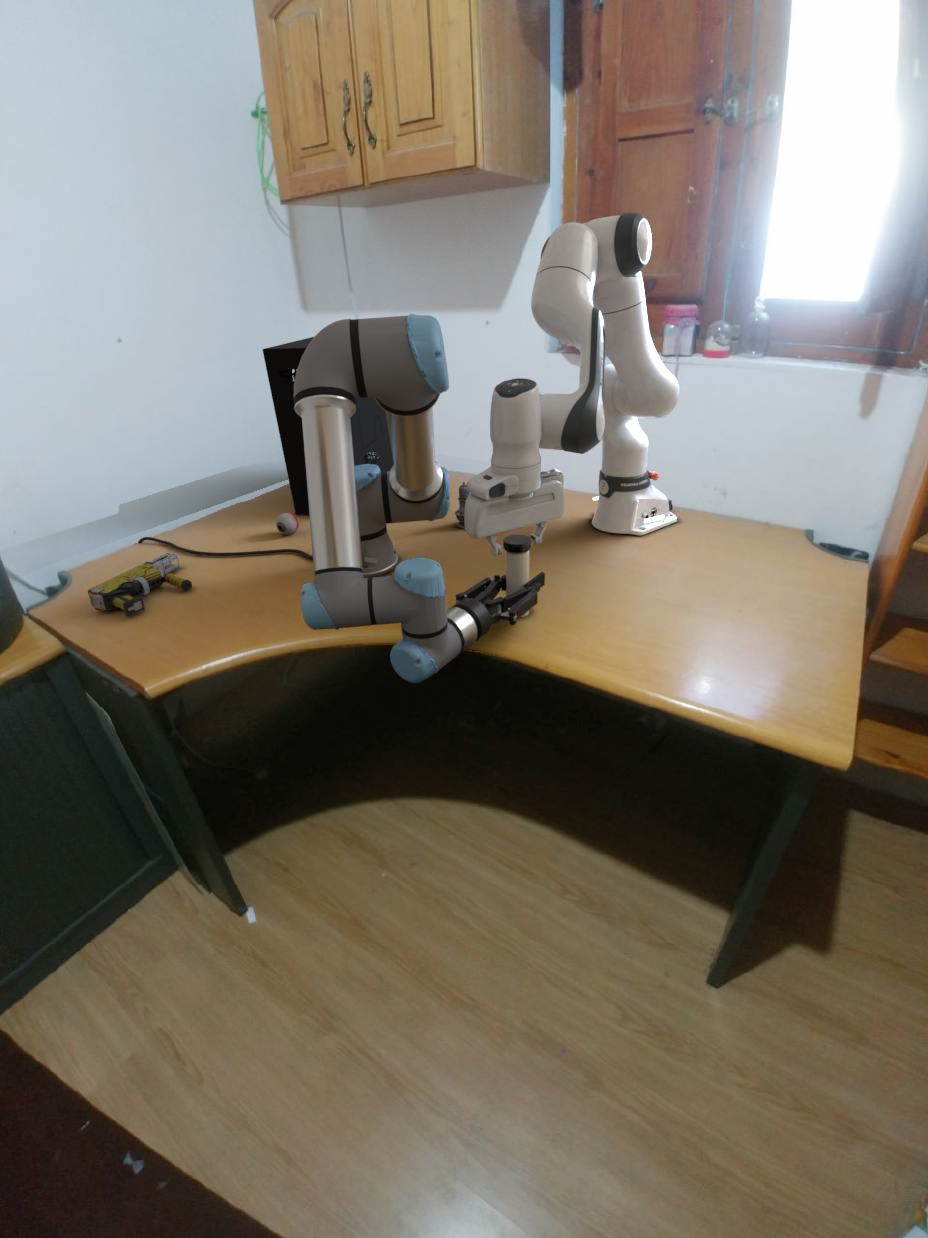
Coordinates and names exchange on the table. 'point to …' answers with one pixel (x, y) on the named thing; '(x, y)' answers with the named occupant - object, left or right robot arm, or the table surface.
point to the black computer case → (364, 424)
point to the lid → (517, 543)
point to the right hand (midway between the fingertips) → (516, 548)
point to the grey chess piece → (462, 505)
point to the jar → (516, 572)
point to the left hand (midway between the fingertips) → (531, 575)
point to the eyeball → (287, 523)
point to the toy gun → (136, 585)
